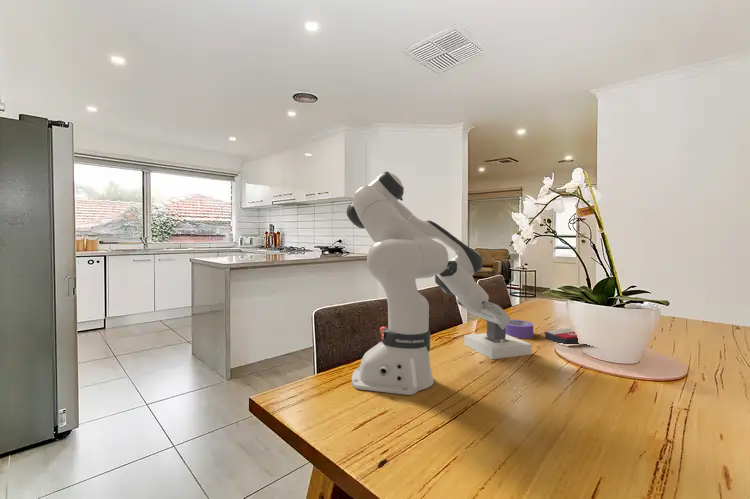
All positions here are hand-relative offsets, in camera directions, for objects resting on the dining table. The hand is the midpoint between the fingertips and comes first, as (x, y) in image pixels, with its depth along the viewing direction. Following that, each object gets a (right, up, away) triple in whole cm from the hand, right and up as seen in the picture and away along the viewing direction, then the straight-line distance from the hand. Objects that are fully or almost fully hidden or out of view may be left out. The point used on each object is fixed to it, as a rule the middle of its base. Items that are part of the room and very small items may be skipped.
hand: (497, 325), depth 123 cm
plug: (-1, -4, 0) cm, 4 cm away
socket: (0, -8, 0) cm, 9 cm away
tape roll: (+15, -8, +20) cm, 27 cm away
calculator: (+33, -9, +11) cm, 36 cm away
